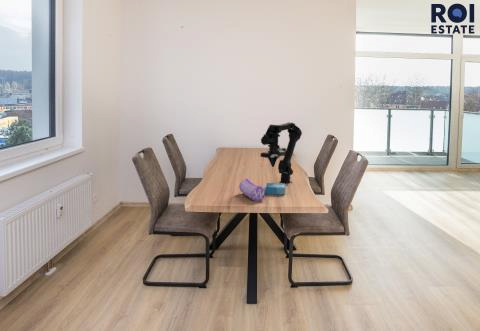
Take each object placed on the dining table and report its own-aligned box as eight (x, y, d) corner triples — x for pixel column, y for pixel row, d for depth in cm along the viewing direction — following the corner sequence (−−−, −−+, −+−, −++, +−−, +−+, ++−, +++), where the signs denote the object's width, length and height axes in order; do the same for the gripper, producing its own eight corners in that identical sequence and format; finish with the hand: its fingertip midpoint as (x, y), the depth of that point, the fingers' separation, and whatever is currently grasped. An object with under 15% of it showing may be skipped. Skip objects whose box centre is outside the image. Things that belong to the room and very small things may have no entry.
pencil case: (266, 201, 258) (267, 185, 256) (252, 202, 254) (252, 186, 253) (250, 192, 278) (250, 177, 276) (237, 193, 274) (237, 178, 272)
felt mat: (263, 187, 291) (263, 187, 291) (281, 192, 279) (281, 192, 279) (250, 190, 283) (250, 190, 283) (267, 195, 271) (267, 194, 271)
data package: (285, 183, 284) (285, 187, 272) (284, 190, 284) (285, 194, 273) (266, 182, 284) (266, 186, 273) (266, 189, 285) (265, 194, 274)
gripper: (272, 146, 281) (271, 170, 283) (292, 144, 293) (291, 167, 295) (260, 144, 289) (259, 167, 292) (280, 142, 301) (279, 164, 304)
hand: (272, 166), depth 295 cm, fingers closed
